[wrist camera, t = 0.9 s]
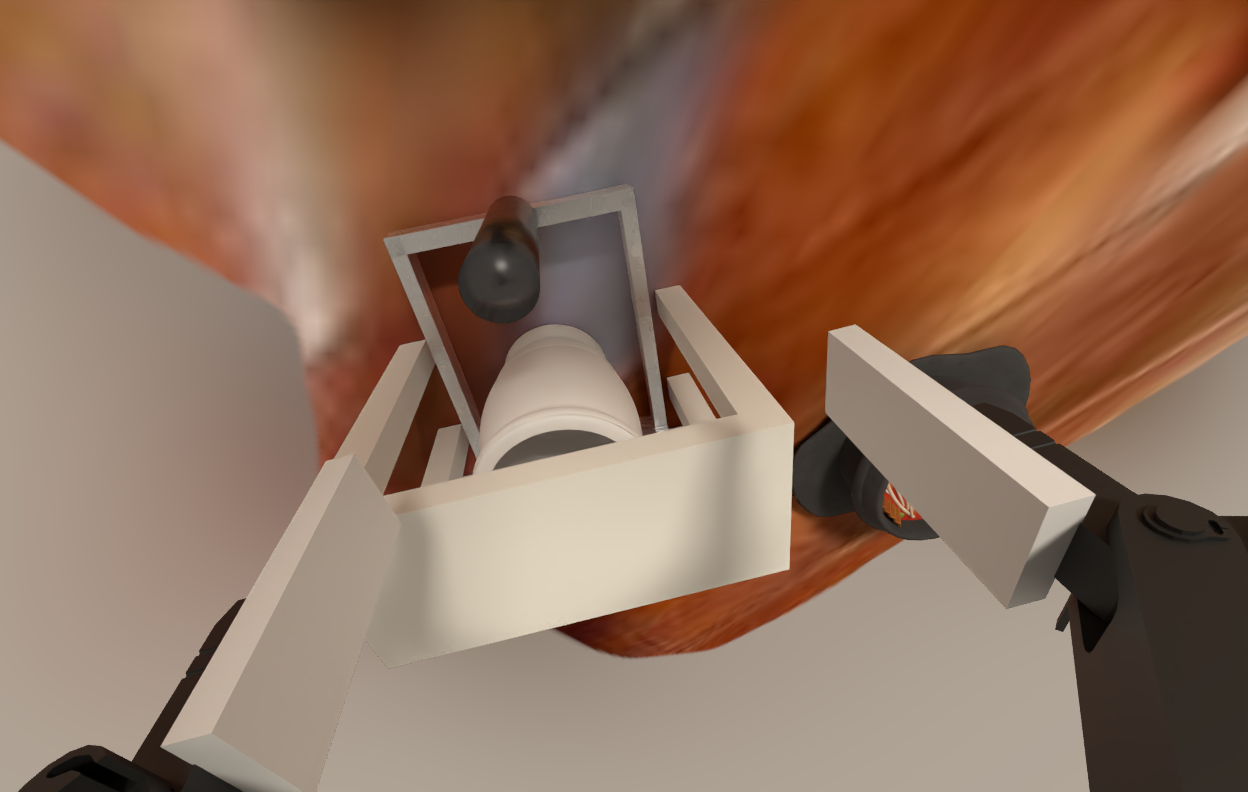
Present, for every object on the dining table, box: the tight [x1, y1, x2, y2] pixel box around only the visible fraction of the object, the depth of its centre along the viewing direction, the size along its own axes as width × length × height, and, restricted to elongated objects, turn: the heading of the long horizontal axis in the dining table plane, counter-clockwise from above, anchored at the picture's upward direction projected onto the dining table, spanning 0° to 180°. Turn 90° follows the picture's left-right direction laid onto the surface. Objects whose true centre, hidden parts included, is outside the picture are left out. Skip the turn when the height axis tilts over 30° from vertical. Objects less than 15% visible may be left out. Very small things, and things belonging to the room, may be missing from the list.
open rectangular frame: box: [334, 285, 794, 669], centre depth 34 cm, size 22×22×20 cm
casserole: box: [792, 345, 1034, 540], centre depth 46 cm, size 25×19×8 cm
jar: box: [472, 324, 642, 475], centre depth 33 cm, size 11×10×15 cm
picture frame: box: [383, 184, 669, 459], centre depth 30 cm, size 21×16×15 cm
